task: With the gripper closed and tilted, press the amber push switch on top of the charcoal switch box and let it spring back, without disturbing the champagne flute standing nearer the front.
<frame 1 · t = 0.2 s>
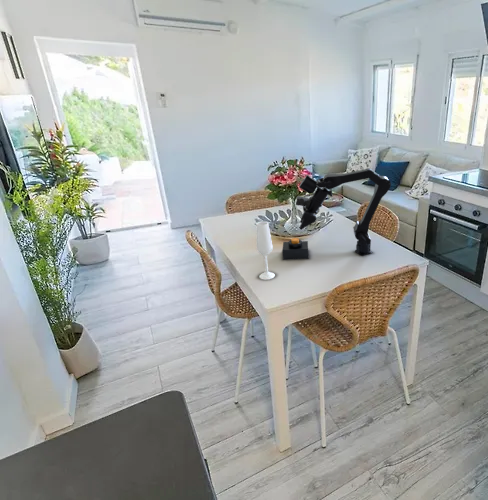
hand: (300, 225, 166), 15 cm above the table, tool tilted 35°, fingers open, 9 cm apart
switch box: (296, 255, 170), on the table
champagne flute: (267, 276, 150), on the table
switch button: (295, 241, 167), point 7 cm above the table, slide at 0.1 cm
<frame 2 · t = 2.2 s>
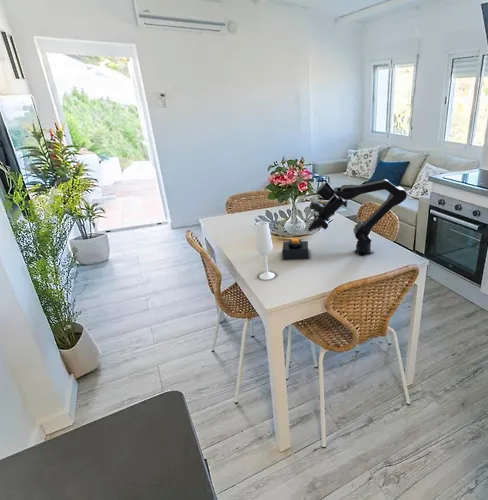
hand: (308, 229, 166), 13 cm above the table, tool tilted 45°, fingers closed
nothing on the table moved.
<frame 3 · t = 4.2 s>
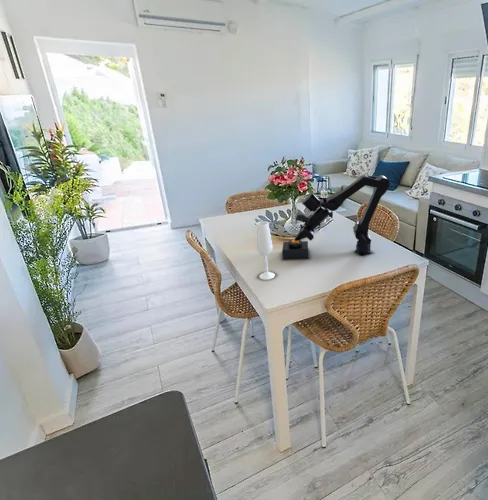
hand: (295, 240, 167), 8 cm above the table, tool tilted 45°, fingers closed, pressing on switch button
switch button: (295, 242, 168), point 7 cm above the table, slide at -0.7 cm, touching gripper
everything else where it was.
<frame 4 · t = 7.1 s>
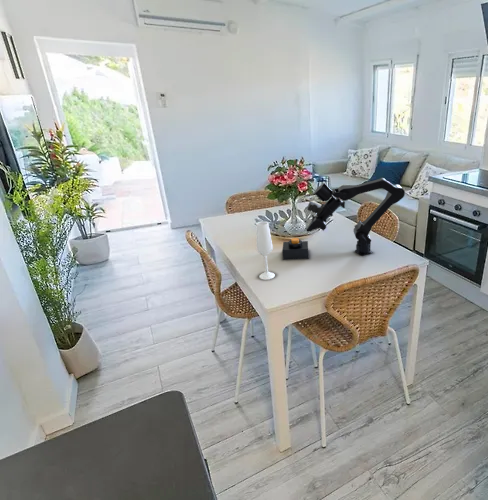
hand: (307, 230, 166), 12 cm above the table, tool tilted 45°, fingers closed
switch button: (295, 241, 167), point 7 cm above the table, slide at 0.1 cm
everything else where it was.
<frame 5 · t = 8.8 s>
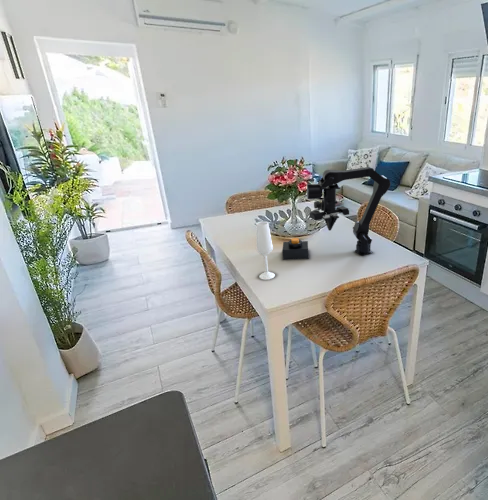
hand: (329, 230, 166), 13 cm above the table, tool pointing down, fingers closed
nothing on the table moved.
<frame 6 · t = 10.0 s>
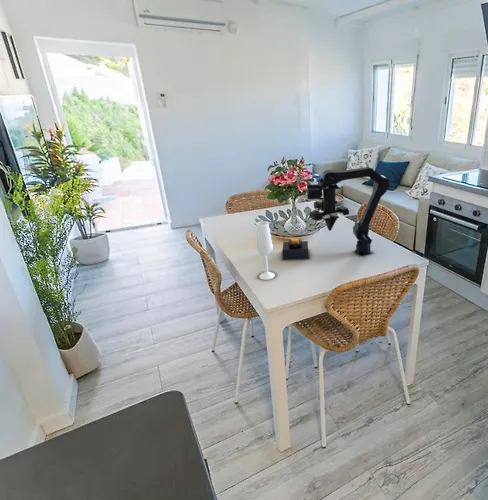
hand: (329, 230, 166), 13 cm above the table, tool pointing down, fingers closed
nothing on the table moved.
at the end: switch button pushed in 1.3 cm at the most during the clip, back to where it started at the end; switch button slide at 0.1 cm; champagne flute moved 0.2 cm from its start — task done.
